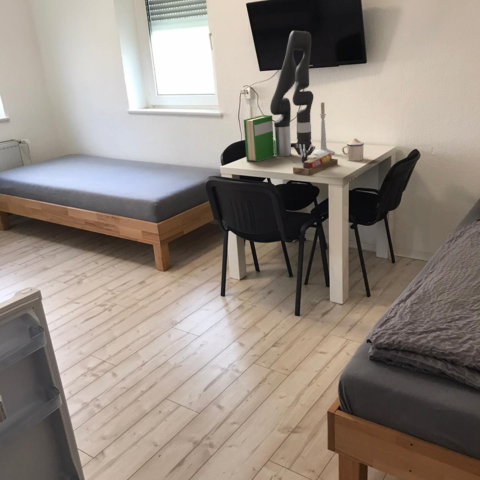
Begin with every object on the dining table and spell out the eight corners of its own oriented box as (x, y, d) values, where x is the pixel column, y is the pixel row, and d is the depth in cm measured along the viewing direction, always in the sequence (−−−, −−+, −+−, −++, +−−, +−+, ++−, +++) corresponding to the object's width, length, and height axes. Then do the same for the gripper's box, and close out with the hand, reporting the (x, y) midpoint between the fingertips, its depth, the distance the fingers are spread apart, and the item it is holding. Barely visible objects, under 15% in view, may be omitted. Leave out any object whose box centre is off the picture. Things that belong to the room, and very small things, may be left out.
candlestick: (333, 150, 312) (333, 99, 302) (335, 155, 301) (334, 102, 290) (312, 152, 314) (310, 101, 303) (313, 156, 302) (311, 103, 292)
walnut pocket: (293, 173, 267) (292, 167, 266) (321, 162, 285) (321, 157, 284) (309, 175, 261) (309, 169, 260) (337, 164, 278) (337, 159, 277)
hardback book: (256, 162, 299) (253, 120, 290) (246, 161, 303) (243, 119, 295) (274, 155, 312) (272, 115, 303) (264, 155, 316) (261, 115, 308)
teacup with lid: (365, 158, 288) (366, 137, 283) (360, 161, 280) (360, 140, 276) (345, 157, 293) (345, 136, 289) (339, 160, 286) (339, 139, 282)
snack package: (313, 174, 264) (312, 160, 261) (301, 173, 268) (301, 160, 265) (332, 164, 279) (332, 152, 277) (321, 163, 283) (321, 151, 281)
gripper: (289, 131, 272) (290, 163, 279) (310, 132, 264) (311, 166, 270) (297, 128, 278) (298, 160, 284) (318, 130, 269) (319, 162, 275)
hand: (304, 163), depth 277 cm, fingers closed
